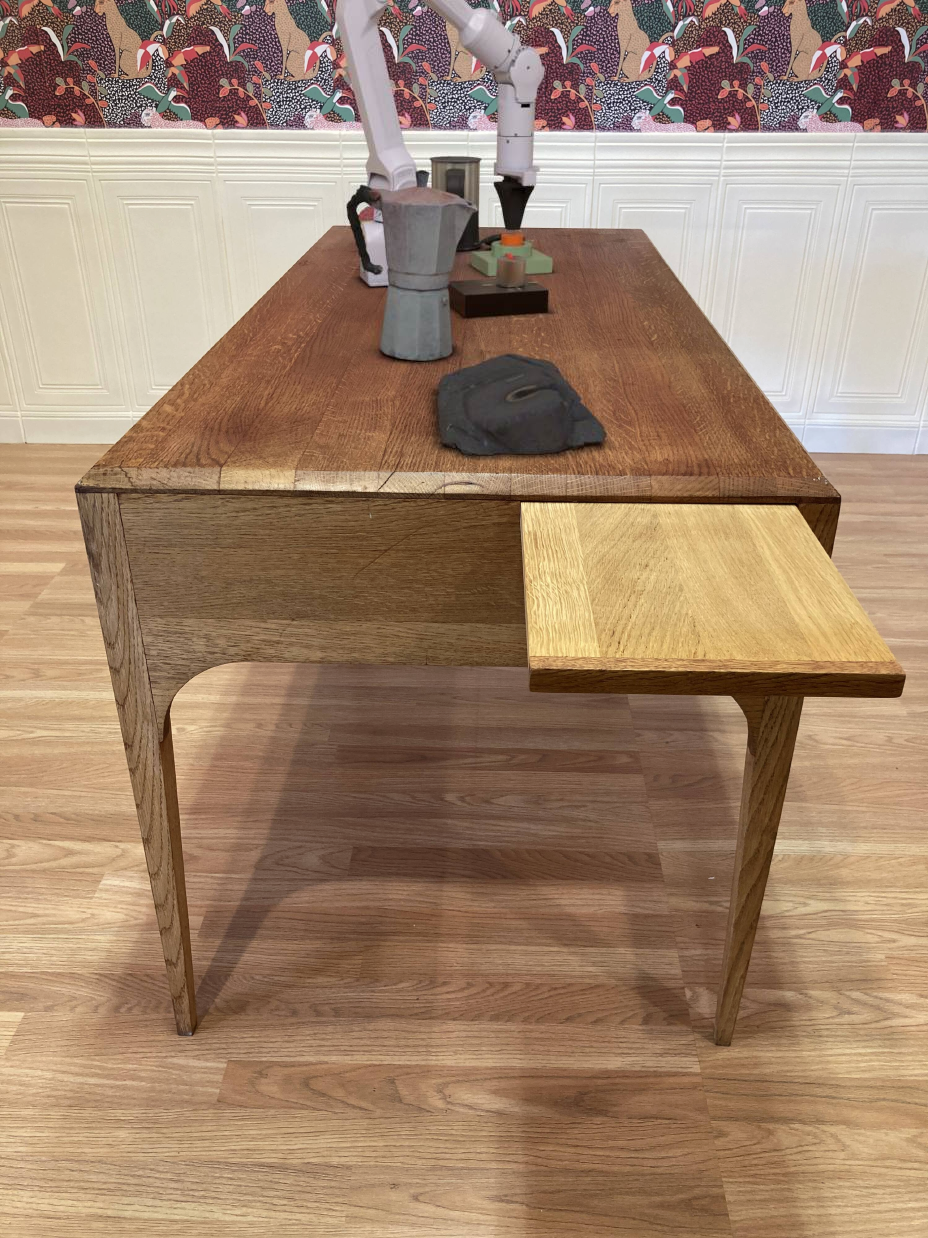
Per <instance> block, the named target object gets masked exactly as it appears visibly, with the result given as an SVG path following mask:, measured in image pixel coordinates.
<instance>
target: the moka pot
mask: <svg viewBox="0 0 928 1238" xmlns="http://www.w3.org/2000/svg"><path fill="white" fill-rule="evenodd" d="M415 174H416V182H417V186H415V187H410V188H405V189H400V190H395V191H389V190H385V189H372V188H370V187H367V185H365V184H360V185H359V188H357V189H356V191H355V194H352V195H351V197H350V200H349V201H347V203H346V205H345V207H346V216H347V220H348V223H349V225H350V229H351V231H352V234H353V238H354V240H355V245H356V248H357V250H358V256H359V258H360V257H361V262H362V266H363V269H364V270H365V271H367V272H371V273H373V274H381V273H382V271H383V267H382V266H380V265H374V264H372V263H371V261H370V257H369V254H368V252H367V250H366V243H365V237H364V235H363V231H362V228H361V222H360V220H359V216H358V215H359V213H358V210H357V209H358V207H359V205H360V204H363V203H365V204H367V205H368V206H372V207H379V208H380V209H381V212H382V218H383V228H384V238H385V249H386V261H387V266H388V270H387V274H388V283H389V285H388V286H387V290H386V298H385V302H384V303H385V304H384V312H383V319H382V326H381V327H382V328H381V332H380V342H379V350H380V351H381V352H382V353H383V354H385V355H387V356H390V357H392V358H396V359H400V360H407V361H417V362H418V361H419V362H421V361H422V362H424V361H438V360H441V359H444V358H447V357H449V356H450V355H451V354H452V353H453V339H452V338H453V337H452V324H451V308H450V307H451V306H450V305H449V292H448V288H447V286H448V285H449V282H450V281H451V271H453V269H454V264H455V257H456V252H457V250H456V247H457V244H458V242H459V240H460V239H461V237H462V234H463V232H464V230H465V228H466V226H467V224H468V221H469V219H470V217H471V216H472V214H473V213H474V212H475V211H478V209H477V207H476V205H474V204H472V202H471V201H469V200H466V199H463V198H460V197H459V196H458V195H455V194H451V193H448V192H444V191H441V190H437V189H434V188H431V187H430V186H428V183H429V177H430V172H429V171H426V170H423V169H419V170H417V172H415Z"/></svg>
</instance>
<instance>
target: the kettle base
mask: <svg viewBox="0 0 928 1238" xmlns="http://www.w3.org/2000/svg"><path fill="white" fill-rule="evenodd" d="M490 247H491V250H483V251H482V250H481V251H471V266H472V268H475V269H476V270H478V271H480V272H481V273H482V274H484V275H486V276H487V277H496V274H497V257H500V256H505V253H509V254H511V255H513V256H522V257H525V258H526V267H525V275H532V274H533V275H534V274H536V275H537V274H549V273H551V274H552V273H553V265H554V264H553V263H554V262H553V261H554V259H553V257H550V256H549V255H546V254H545V253H542V252H540V251H538V250H536V249H534V248H533V243H532V242H530V241H526V240H525V241H523V245H521V246H505V245H501V240H499V241H495V242H493V243H492V245H491V246H490Z"/></svg>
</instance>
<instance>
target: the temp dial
mask: <svg viewBox="0 0 928 1238" xmlns="http://www.w3.org/2000/svg"><path fill="white" fill-rule="evenodd" d="M525 267H526V258H525V257H522V256H513V255H511V254H509V253H505V256H500V257H497V274H496V276H495V279H496V284H497V285H498V286H501V287H521V286H524V285H525V277H526V274H525Z"/></svg>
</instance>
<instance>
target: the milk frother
mask: <svg viewBox="0 0 928 1238" xmlns="http://www.w3.org/2000/svg"><path fill="white" fill-rule="evenodd" d="M429 160H430V163H431V164H430V168H431V170H430V171H431V175H430V176H431V178H430V179H431V184H430V185H431V187H430V188H434V189H437V190H441V191H444V192H448V193H451V194H455V195H458V196H459V197H460V198H463V199H466V200H469V201H471V202H472V204H474V205H476V207H477V209H478V211H475V212H474V213H473V214H472V216H471V217H470V219H469V221H468V224H467V226H466V228H465V230H464V232H463V234H462V237H461V239H460V240H459V242H458V244H457V247H456V251H471V250H475V249H479V248H480V247H482V246H481V245H483V244H484V245H485V246H487V247H491V245H492V243H493V242H495V241H501V235H502V234H503V233H499V234H492V235H490V236H487V237H484V238H483V239H481V240H480V179H481V178H480V176H481V175H480V170H481V169H480V167H481V165H480V164H481V161H482V158H481V157H477V156H464V155H458V156H457V155H455V156H451V155H447V156H446V155H445V156H444V155H443V156H433V157H429ZM525 239H526V238H525V236H523V241H526V240H525Z"/></svg>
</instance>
